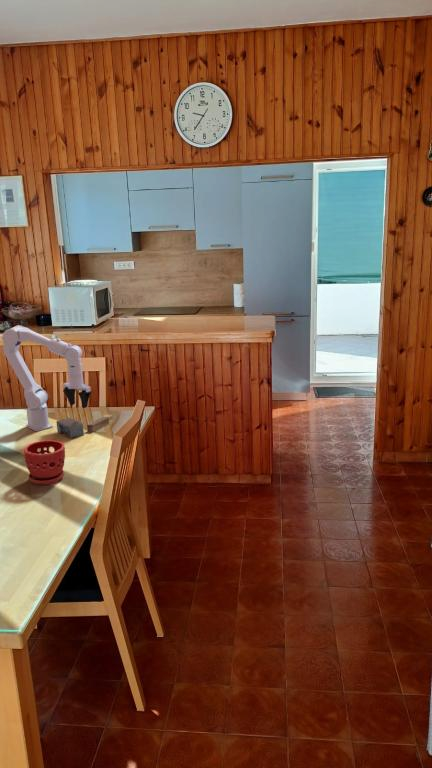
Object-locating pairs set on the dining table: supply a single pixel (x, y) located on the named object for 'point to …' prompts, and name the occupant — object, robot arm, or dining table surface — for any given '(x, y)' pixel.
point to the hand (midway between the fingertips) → (78, 406)
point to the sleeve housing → (70, 427)
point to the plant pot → (45, 461)
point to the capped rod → (100, 423)
